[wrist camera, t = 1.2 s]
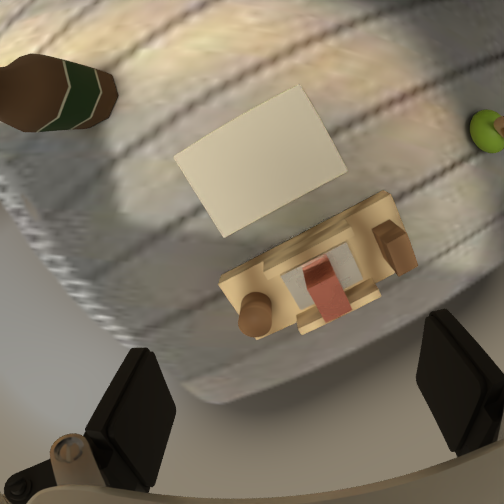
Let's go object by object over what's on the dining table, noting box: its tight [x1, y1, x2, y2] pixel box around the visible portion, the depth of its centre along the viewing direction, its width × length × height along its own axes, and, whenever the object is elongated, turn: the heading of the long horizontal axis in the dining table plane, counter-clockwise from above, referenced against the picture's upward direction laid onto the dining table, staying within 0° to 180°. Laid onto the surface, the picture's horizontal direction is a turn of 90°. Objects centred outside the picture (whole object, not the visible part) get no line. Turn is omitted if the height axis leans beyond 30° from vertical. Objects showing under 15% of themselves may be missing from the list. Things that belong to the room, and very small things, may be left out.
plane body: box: [218, 190, 418, 340], centre depth 34 cm, size 22×9×8 cm, turn 120°
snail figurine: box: [470, 110, 504, 153], centre depth 25 cm, size 5×6×12 cm
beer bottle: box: [0, 54, 118, 132], centre depth 20 cm, size 8×8×24 cm
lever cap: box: [280, 241, 363, 323], centre depth 33 cm, size 8×5×6 cm, turn 120°
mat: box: [174, 84, 348, 238], centre depth 34 cm, size 16×11×1 cm
